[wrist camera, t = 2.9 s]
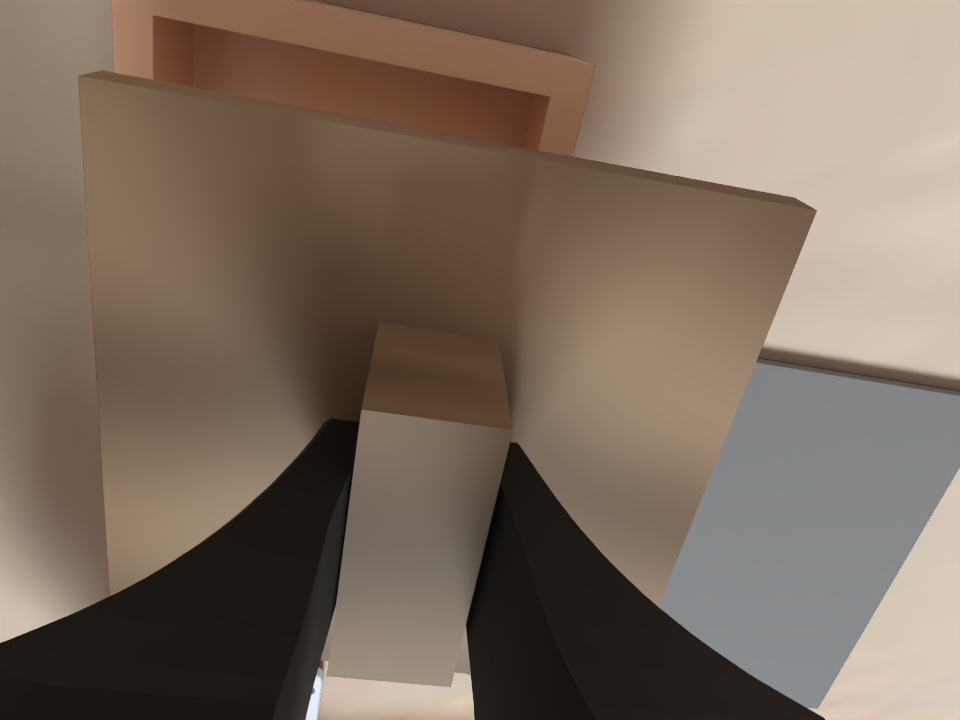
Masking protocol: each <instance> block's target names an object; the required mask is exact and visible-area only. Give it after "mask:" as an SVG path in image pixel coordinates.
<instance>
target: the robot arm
mask: <svg viewBox="0 0 960 720" xmlns="http://www.w3.org/2000/svg"><path fill="white" fill-rule="evenodd" d="M359 424H360V422H355V421H348V420H340V419H333V418H330V419H329V420H327V421H326V422H324V423H323V424H322V426H321V427H320V429H319V430H318V432H317V433H316V434H315V436H314V437H313V438H312V440H311V441H310V442H309V443H308V445H307V446H306V447H305V448H304V449H303V451H302V452H301V453H300V454H299V455H298V456H297V457H296V459H295V460H294V461H293V462H292V463H291V464H290V465H289V466H288V467H287V468H286V469H285V470H284V471H283V472H282V473H281V474H280V475H279V476H278V478H277V479H276V480H275V481H274V482H273V483H272V484H271V485H270V486H268V487H267V488H266V489H265V490H264V491H263V492H262V493H261V494H260V495H259V496H257V497H256V498H255V499H254V500H253V501H252V502H251V503H250V504H249V505H248V506H246V507H245V508H244V509H243V510H242V511H241V512H240V513H238V514H237V515H236V516H235V517H233V518H232V519H231V520H230V521H229V522H227V523H226V524H225V525H224V526H222V527H221V528H220V529H218V530H217V531H216V532H214V533H213V534H212V535H210V536H209V537H208V538H206V539H205V540H203V541H202V542H201V543H199V544H198V545H196V546H195V547H193V548H192V549H190V550H189V551H187V552H186V553H184V554H183V555H181V556H180V557H178V558H177V559H175V560H174V561H172V562H171V563H169V564H167V565H166V566H164V567H163V568H161V569H159V570H158V571H156V572H154V573H153V574H151V575H149V576H148V577H146V578H144V579H142V580H140V581H138V582H137V583H135V584H133V585H131V586H129V587H127V588H125V589H123V590H121V591H120V592H118V593H116V594H113V595H111V596H109V597H107V598H105V599H103V600H101V601H99V602H97V603H95V604H93V605H91V606H89V607H87V608H84V609H82V610H80V611H78V612H76V613H73V614H71V615H69V616H66V617H64V618H62V619H59V620H57V621H54V622H52V623H49V624H47V625H44V626H42V627H40V628H37V629H35V630H32V631H30V632H27V633H25V634H22V635H20V636H17V637H15V638H13V639H10V640H7V641H5V642H2V643H0V720H317V719H318V712H319V705H320V698H321V691H322V684H323V677H324V674H323V671H322V670H321V668H319V664H320V660H321V657H322V653H323V650H324V646H325V642H326V639H327V635H328V632H329V628H330V624H331V621H332V617H333V614H334V610H335V606H336V602H337V594H338V586H339V578H340V571H341V563H342V555H343V548H344V540H345V532H346V524H347V517H348V509H349V501H350V493H351V486H352V478H353V470H354V462H355V455H356V447H357V439H358V431H359ZM466 633H467V643H468V652H469V662H470V671H471V681H472V691H473V700H474V716H475V720H825V719H824V718H823V717H821V716H820V715H818V714H816V713H815V712H813V711H811V710H809V709H808V708H806V707H804V706H803V705H801V704H799V703H797V702H796V701H794V700H792V699H791V698H789V697H787V696H785V695H784V694H782V693H780V692H779V691H777V690H775V689H773V688H772V687H770V686H768V685H767V684H765V683H763V682H761V681H760V680H758V679H757V678H755V677H753V676H752V675H750V674H749V673H747V672H746V671H744V670H743V669H741V668H740V667H738V666H737V665H735V664H734V663H732V662H731V661H729V660H728V659H727V658H725V657H724V656H722V655H721V654H719V653H718V652H716V651H715V650H713V649H712V648H711V647H709V646H708V645H706V644H705V643H704V642H702V641H701V640H700V639H698V638H697V637H696V636H694V635H693V634H692V633H690V632H689V631H688V630H686V629H685V628H684V627H683V626H681V625H680V624H679V623H678V622H676V621H675V620H674V619H673V618H672V617H670V616H669V615H668V614H667V613H665V612H664V611H663V610H662V609H660V608H659V607H658V606H657V605H656V604H654V603H653V602H652V601H651V600H650V599H649V598H648V597H646V596H645V595H644V594H643V593H642V592H641V591H640V590H639V589H638V588H637V587H636V586H635V585H634V584H633V583H631V582H630V581H629V580H628V579H627V578H626V577H625V576H624V575H623V574H622V573H621V572H620V571H619V570H618V569H617V568H616V567H615V566H614V565H613V564H612V563H611V562H610V561H609V560H608V559H607V558H606V557H605V556H604V555H603V554H602V553H601V551H600V550H599V549H598V548H597V547H596V546H595V545H594V543H593V542H592V541H591V540H590V539H589V538H588V537H587V536H586V534H585V533H584V532H583V531H582V530H581V529H580V527H579V526H578V525H577V524H576V522H575V521H574V520H573V519H572V518H571V516H570V515H569V514H568V512H567V511H566V510H565V509H564V507H563V506H562V505H561V503H560V502H559V501H558V499H557V498H556V497H555V495H554V494H553V492H552V491H551V490H550V488H549V487H548V485H547V484H546V483H545V481H544V480H543V478H542V477H541V476H540V474H539V473H538V471H537V470H536V468H535V467H534V465H533V464H532V462H531V461H530V460H529V458H528V457H527V455H526V454H525V452H524V451H523V449H522V448H521V447H520V445H519V444H518V443H514V442H510V444H509V449H508V453H507V457H506V461H505V465H504V469H503V473H502V477H501V482H500V486H499V490H498V494H497V498H496V502H495V506H494V510H493V515H492V519H491V523H490V527H489V531H488V535H487V539H486V543H485V548H484V552H483V556H482V560H481V564H480V568H479V572H478V576H477V581H476V585H475V589H474V593H473V597H472V601H471V605H470V609H469V614H468V618H467V622H466Z"/></svg>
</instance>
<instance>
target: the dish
mask: <svg viewBox="0 0 960 720" xmlns="http://www.w3.org/2000/svg"><path fill="white" fill-rule="evenodd" d="M112 30H113V67H114V73H119V74H125V75H130V76H136V77H141V78H146V79H152V80H157V81H163V82H168V83H174V84H179V85H184V86H190V87H195V88H201V89H206V90H212V91H217V92H222V93H228V94H233V95H239V96H244V97H250V98H255V99H261V100H266V101H271V102H277V103H282V104H288V105H293V106H299V107H304V108H309V109H315V110H320V111H326V112H331V113H337V114H342V115H347V116H353V117H358V118H364V119H369V120H375V121H380V122H385V123H391V124H396V125H402V126H407V127H413V128H418V129H424V130H429V131H434V132H440V133H445V134H451V135H456V136H462V137H467V138H472V139H478V140H483V141H489V142H494V143H500V144H505V145H510V146H516V147H521V148H527V149H532V150H538V151H543V152H549V153H554V154H559V155H565V156H570V157H573V153H574V149H575V145H576V141H577V137H578V132H579V128H580V124H581V120H582V116H583V112H584V108H585V104H586V100H587V96H588V92H589V88H590V84H591V80H592V76H593V72H594V68H595V65H592V64H590V63H587V62H584V61H582V60H579V59H577V58H574V57H572V56H569V55H564V54H560V53H555V52H550V51H546V50H541V49H536V48H532V47H527V46H522V45H518V44H513V43H508V42H504V41H499V40H494V39H490V38H485V37H480V36H476V35H471V34H466V33H462V32H457V31H452V30H448V29H443V28H438V27H434V26H429V25H424V24H420V23H415V22H410V21H405V20H401V19H396V18H391V17H387V16H382V15H377V14H373V13H368V12H363V11H359V10H354V9H349V8H345V7H340V6H335V5H331V4H326V3H321V2H317V1H312V0H112Z"/></svg>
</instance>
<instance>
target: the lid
mask: <svg viewBox="0 0 960 720" xmlns="http://www.w3.org/2000/svg"><path fill="white" fill-rule="evenodd" d="M78 81H79V98H80V114H81V131H82V147H83V164H84V180H85V197H86V213H87V230H88V246H89V263H90V279H91V295H92V312H93V328H94V345H95V361H96V378H97V394H98V411H99V427H100V444H101V460H102V477H103V493H104V510H105V526H106V543H107V559H108V576H109V592H110V596H111V595H113V594H116V593H118V592H120V591H121V590H123V589H125V588H127V587H129V586H131V585H133V584H135V583H137V582H138V581H140V580H142V579H144V578H146V577H148V576H149V575H151V574H153V573H154V572H156V571H158V570H159V569H161V568H163V567H164V566H166V565H167V564H169V563H171V562H172V561H174V560H175V559H177V558H178V557H180V556H181V555H183V554H184V553H186V552H187V551H189V550H190V549H192V548H193V547H195V546H196V545H198V544H199V543H201V542H202V541H203V540H205V539H206V538H208V537H209V536H210V535H212V534H213V533H214V532H216V531H217V530H218V529H220V528H221V527H222V526H224V525H225V524H226V523H227V522H229V521H230V520H231V519H232V518H233V517H235V516H236V515H237V514H238V513H240V512H241V511H242V510H243V509H244V508H245V507H246V506H248V505H249V504H250V503H251V502H252V501H253V500H254V499H255V498H256V497H257V496H259V495H260V494H261V493H262V492H263V491H264V490H265V489H266V488H267V487H268V486H270V485H271V484H272V483H273V482H274V481H275V480H276V479H277V478H278V476H279V475H280V474H281V473H282V472H283V471H284V470H285V469H286V468H287V467H288V466H289V465H290V464H291V463H292V462H293V461H294V460H295V459H296V457H297V456H298V455H299V454H300V453H301V452H302V451H303V449H304V448H305V447H306V446H307V445H308V443H309V442H310V441H311V440H312V438H313V437H314V436H315V434H316V433H317V432H318V430H319V429H320V427H321V426H322V424H323V423H324V422H326V421H327V420H329V419H330V418H333V419H340V420H348V421H355V422H360V424H359V431H358V439H357V447H356V455H355V462H354V470H353V478H352V486H351V493H350V501H349V509H348V517H347V524H346V532H345V540H344V548H343V555H342V563H341V571H340V578H339V586H338V594H337V602H336V606H335V610H334V614H333V617H332V621H331V624H330V628H329V632H328V635H327V639H326V642H325V646H324V650H323V653H322V657H321V660H323V661H329V664H328V671H327V676H330V677H342V678H353V679H365V680H376V681H388V682H399V683H411V684H422V685H433V686H445V687H451V684H452V679H453V675H454V672H457V673H468V674H471V671H470V662H469V652H468V643H467V633H466V622H467V618H468V614H469V609H470V605H471V601H472V597H473V593H474V589H475V585H476V581H477V576H478V572H479V568H480V564H481V560H482V556H483V552H484V548H485V543H486V539H487V535H488V531H489V527H490V523H491V519H492V515H493V510H494V506H495V502H496V498H497V494H498V490H499V486H500V482H501V477H502V473H503V469H504V465H505V461H506V457H507V453H508V449H509V444H510V442H514V443H518V444H519V445H520V447H521V448H522V449H523V451H524V452H525V454H526V455H527V457H528V458H529V460H530V461H531V462H532V464H533V465H534V467H535V468H536V470H537V471H538V473H539V474H540V476H541V477H542V478H543V480H544V481H545V483H546V484H547V485H548V487H549V488H550V490H551V491H552V492H553V494H554V495H555V497H556V498H557V499H558V501H559V502H560V503H561V505H562V506H563V507H564V509H565V510H566V511H567V512H568V514H569V515H570V516H571V518H572V519H573V520H574V521H575V522H576V524H577V525H578V526H579V527H580V529H581V530H582V531H583V532H584V533H585V534H586V536H587V537H588V538H589V539H590V540H591V541H592V542H593V543H594V545H595V546H596V547H597V548H598V549H599V550H600V551H601V553H602V554H603V555H604V556H605V557H606V558H607V559H608V560H609V561H610V562H611V563H612V564H613V565H614V566H615V567H616V568H617V569H618V570H619V571H620V572H621V573H622V574H623V575H624V576H625V577H626V578H627V579H628V580H629V581H630V582H631V583H633V584H634V585H635V586H636V587H637V588H638V589H639V590H640V591H641V592H642V593H643V594H644V595H645V596H646V597H648V598H649V599H650V600H651V601H652V602H653V603H654V604H656V605H657V606H659V603H660V601H661V598H662V596H663V593H664V591H665V588H666V586H667V583H668V581H669V578H670V576H671V573H672V571H673V568H674V566H675V563H676V561H677V558H678V556H679V553H680V551H681V548H682V546H683V543H684V541H685V539H686V536H687V534H688V531H689V529H690V526H691V524H692V521H693V519H694V516H695V514H696V511H697V509H698V506H699V504H700V501H701V499H702V496H703V494H704V491H705V489H706V486H707V484H708V481H709V479H710V476H711V474H712V471H713V469H714V466H715V464H716V461H717V459H718V456H719V454H720V451H721V449H722V446H723V444H724V441H725V439H726V436H727V434H728V431H729V429H730V426H731V424H732V421H733V419H734V416H735V414H736V411H737V409H738V406H739V404H740V401H741V399H742V396H743V394H744V391H745V389H746V386H747V384H748V381H749V379H750V376H751V374H752V371H753V369H754V366H755V364H756V361H757V359H758V356H759V354H760V351H761V349H762V346H763V344H764V341H765V339H766V336H767V334H768V331H769V329H770V326H771V324H772V321H773V319H774V316H775V314H776V311H777V309H778V306H779V304H780V302H781V299H782V297H783V294H784V292H785V289H786V287H787V284H788V282H789V279H790V277H791V274H792V272H793V269H794V267H795V264H796V262H797V259H798V257H799V254H800V252H801V249H802V247H803V244H804V242H805V239H806V237H807V234H808V232H809V229H810V227H811V224H812V222H813V219H814V217H815V214H816V212H817V210H815V209H813V208H812V207H810V206H808V205H806V204H805V203H803V202H801V201H799V200H798V199H796V198H793V197H788V196H782V195H777V194H771V193H766V192H760V191H755V190H750V189H744V188H739V187H733V186H728V185H722V184H717V183H712V182H706V181H701V180H695V179H690V178H684V177H679V176H673V175H668V174H663V173H657V172H652V171H646V170H641V169H635V168H630V167H625V166H619V165H614V164H608V163H603V162H597V161H592V160H587V159H581V158H576V157H570V156H565V155H559V154H554V153H549V152H543V151H538V150H532V149H527V148H521V147H516V146H510V145H505V144H500V143H494V142H489V141H483V140H478V139H472V138H467V137H462V136H456V135H451V134H445V133H440V132H434V131H429V130H424V129H418V128H413V127H407V126H402V125H396V124H391V123H385V122H380V121H375V120H369V119H364V118H358V117H353V116H347V115H342V114H337V113H331V112H326V111H320V110H315V109H309V108H304V107H299V106H293V105H288V104H282V103H277V102H271V101H266V100H261V99H255V98H250V97H244V96H239V95H233V94H228V93H222V92H217V91H212V90H206V89H201V88H195V87H190V86H184V85H179V84H174V83H168V82H163V81H157V80H152V79H146V78H141V77H136V76H130V75H125V74H119V73H114V72H108V71H98V72H93V73H89V74H84V75H79V76H78Z"/></svg>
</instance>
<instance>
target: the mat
mask: <svg viewBox="0 0 960 720" xmlns="http://www.w3.org/2000/svg"><path fill="white" fill-rule="evenodd" d="M959 468H960V391H954V390H948V389H942V388H936V387H930V386H924V385H918V384H912V383H906V382H899V381H893V380H887V379H881V378H875V377H869V376H863V375H857V374H851V373H844V372H838V371H832V370H826V369H820V368H814V367H808V366H802V365H796V364H789V363H783V362H777V361H771V360H765V359H759V358H758V359H757V361H756V364H755V366H754V369H753V371H752V374H751V376H750V379H749V381H748V384H747V386H746V389H745V391H744V394H743V396H742V399H741V401H740V404H739V406H738V409H737V411H736V414H735V416H734V419H733V421H732V424H731V426H730V429H729V431H728V434H727V436H726V439H725V441H724V444H723V446H722V449H721V451H720V454H719V456H718V459H717V461H716V464H715V466H714V469H713V471H712V474H711V476H710V479H709V481H708V484H707V486H706V489H705V491H704V494H703V496H702V499H701V501H700V504H699V506H698V509H697V511H696V514H695V516H694V519H693V521H692V524H691V526H690V529H689V531H688V534H687V536H686V539H685V541H684V543H683V546H682V548H681V551H680V553H679V556H678V558H677V561H676V563H675V566H674V568H673V571H672V573H671V576H670V578H669V581H668V583H667V586H666V588H665V591H664V593H663V596H662V598H661V601H660V603H659V606H658V607H659V608H660V609H662V610H663V611H664V612H665V613H667V614H668V615H669V616H670V617H672V618H673V619H674V620H675V621H676V622H678V623H679V624H680V625H681V626H683V627H684V628H685V629H686V630H688V631H689V632H690V633H692V634H693V635H694V636H696V637H697V638H698V639H700V640H701V641H702V642H704V643H705V644H706V645H708V646H709V647H711V648H712V649H713V650H715V651H716V652H718V653H719V654H721V655H722V656H724V657H725V658H727V659H728V660H729V661H731V662H732V663H734V664H735V665H737V666H738V667H740V668H741V669H743V670H744V671H746V672H747V673H749V674H750V675H752V676H753V677H755V678H757V679H758V680H760V681H761V682H763V683H765V684H767V685H768V686H770V687H772V688H773V689H775V690H777V691H779V692H780V693H782V694H784V695H785V696H787V697H789V698H791V699H792V700H794V701H796V702H797V703H799V704H801V705H803V706H804V707H807V708H817V709H818V708H819V706H820V704H821V702H822V701H823V699H824V697H825V696H826V694H827V692H828V691H829V689H830V687H831V685H832V684H833V682H834V680H835V679H836V677H837V675H838V674H839V672H840V670H841V668H842V667H843V665H844V663H845V662H846V660H847V658H848V657H849V655H850V653H851V651H852V650H853V648H854V646H855V645H856V643H857V641H858V640H859V638H860V636H861V634H862V633H863V631H864V629H865V628H866V626H867V624H868V623H869V621H870V619H871V617H872V616H873V614H874V612H875V611H876V609H877V607H878V606H879V604H880V602H881V600H882V599H883V597H884V595H885V594H886V592H887V590H888V589H889V587H890V585H891V583H892V582H893V580H894V578H895V577H896V575H897V573H898V572H899V570H900V568H901V566H902V565H903V563H904V561H905V560H906V558H907V556H908V555H909V553H910V551H911V549H912V548H913V546H914V544H915V543H916V541H917V539H918V538H919V536H920V534H921V532H922V531H923V529H924V527H925V526H926V524H927V522H928V521H929V519H930V517H931V515H932V514H933V512H934V510H935V509H936V507H937V505H938V504H939V502H940V500H941V498H942V497H943V495H944V493H945V492H946V490H947V488H948V486H949V485H950V483H951V481H952V480H953V478H954V476H955V475H956V473H957V471H958V469H959ZM467 674H468V673H467ZM469 675H471V674H469Z"/></svg>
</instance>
